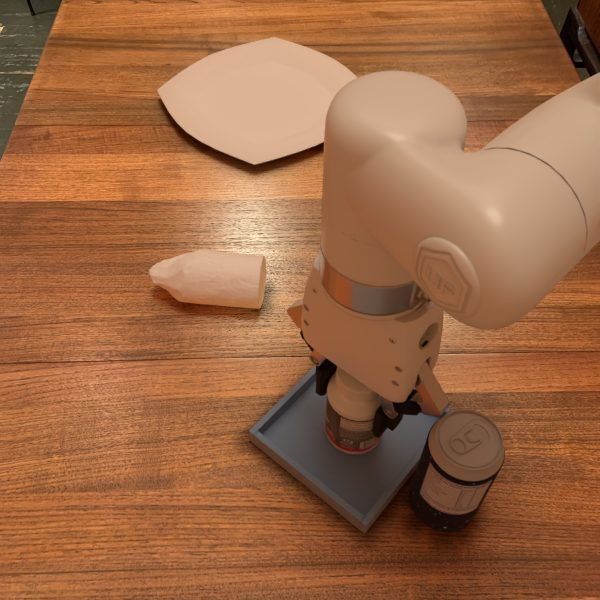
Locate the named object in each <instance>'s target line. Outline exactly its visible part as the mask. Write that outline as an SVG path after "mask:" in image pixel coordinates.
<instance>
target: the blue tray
mask: <svg viewBox="0 0 600 600" xmlns="http://www.w3.org/2000/svg"><path fill="white" fill-rule="evenodd" d="M315 375H316V365H313V367H311V368H310V369H309V371H308V372H307V373H305V374H304V375H303V377H302V378H301V379H300V380H298V381H297V382H296V383H295V384H294V385H293V386H292V388H291V389H289V390H288V391H287V393H285V395H283V396H282V397H281V398H280V399H279V400H278V401H277V402H276V403H275V404H274V405H273V406H272V407H271V408H270V409H269V410H268V411H267V412H266V413H265V414H264V415H263V416H262V417H261V418H260V419H259V420H258V421H257V422H256V423H255V424H254V425H253V426H252V427H251V428H250V429H249V430H248V437H249V442H250V443H251V444H253V445H254V446H256V447H257V448H258V449H259V450H260V451H261V452H263V453H264V454H265V455H266V456H268V457H269V458H270V459H271V460H273V461H274V462H275V463H276V464H278V465H279V466H280V467H281V468H282V469H284V470H285V471H286V472H287V473H289V474H290V476H292V477H294V478H295V479H296V480H297V481H298V482H300V483H301V484H302V485H303V486H305V487H306V488H307V489H308V490H309V491H311V492H312V493H313V494H314V495H316V496H317V497H318V498H319V499H321V501H323V502H324V503H325V504H326V505H328V506H329V507H330V508H332V509H333V510H334V511H335V512H336V513H338V514H339V515H340V516H342V517H343V518H344V520H346V521H347V522H349V523H350V524H351V525H353V527H355V528H356V529H358V530H359V531H360V532H361V533H362V534H364V535H365V534H366V533H367V532H368V531H369V529H371V528H372V526H373V524H374V523H375V522H376V521H377V519H378V518H379V517H380V516H381V514H382V513H383V512H384V511H385V509H386V508H387V507H388V505H390V503H391V502H392V501H393V499H394V498H395V497H396V496H397V494H398V493H399V491H400V490H401V489H402V488H403V486H404V485H405V484H407V482H408V481H409V479H410V478H411V476H412V475H413V474H415V472H416V469H417V466H418V463H419V460H420V457H421V454H422V451H423V448H424V445H425V442H426V439H427V436H428V433H429V430H430V428H431V427H432V425H433V424H434V423H435V422H436V421H437V420H438V419H440V418H441V417H443V416H444V415H446V414H447V413H449V412H451V411H454V410H453V409H451V408H450V406H449V407H448V408H447V409H446V410H445V411H444V413H443V414H442V415H441V416H440V417H436V416H430V415H424V414H423V413H419V414H418V415H416V416H415V415H403V418H402V420H401V422H400V423H399V425H398V426H397V427H396V428H395V429H394V430H393V431H391V430H390V429H388V428H387V429H386V430H385V432H384V433H383V435H382V438H381V440H380V442H379V443H378V445H377V446H376V447H375V448H374V449H372V450H371V451H369V452H367V453H364V454H356V455H352V454H346V453H344V452H342V451H340V450H338V449H337V448H335V447H334V446H333V445H332V444H331V442H330V441H329V439H328V437H327V435H326V431H325V418H326V401H327V393H326V394H325V395H324V396H320V395H318V394H317V393H316V376H315ZM414 389H415V387H414Z"/></svg>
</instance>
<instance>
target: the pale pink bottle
mask: <svg viewBox="0 0 600 600" xmlns="http://www.w3.org/2000/svg"><path fill="white" fill-rule="evenodd" d="M148 275H149V277H150V279H151V282H152V283H153V284H154V285H155V286H158V287H160V288H162V289H164V290H165V291H167V292H168V293H169V294H170V295H171V297H173V298H174V299H175V300H176V301H177V302H180V303H188V304H198V305H208V306H220V307H221V306H222V307H230V308H244V309H257V310H259V309H261V307H262V306H263V303H264V299H265V291H266V282H267V259H266V256H265V255H257V254H248V253H238V252H229V251H228V252H227V251H218V250H211V249H196V250H194V251H192V252H187V253H182V254H179V255H176V256H173V257H170V258H166V259H163V260H161V261H159V262H156V263H155V264H154V265H152V266H151V267H150V268H149V269H148Z"/></svg>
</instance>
